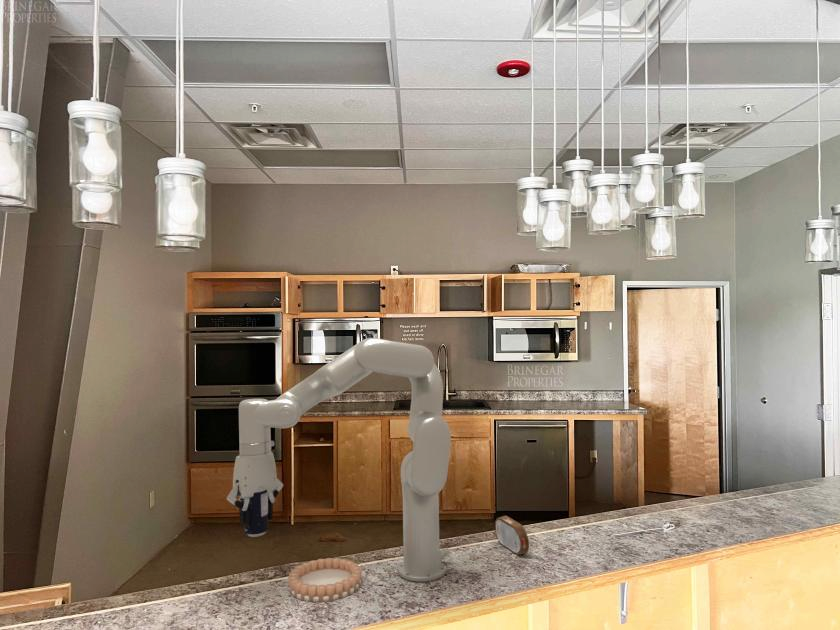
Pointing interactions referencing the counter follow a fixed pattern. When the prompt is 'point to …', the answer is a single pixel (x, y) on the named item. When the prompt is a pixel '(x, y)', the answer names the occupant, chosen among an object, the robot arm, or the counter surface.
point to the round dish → (324, 580)
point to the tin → (512, 535)
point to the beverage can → (258, 513)
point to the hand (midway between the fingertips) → (256, 521)
